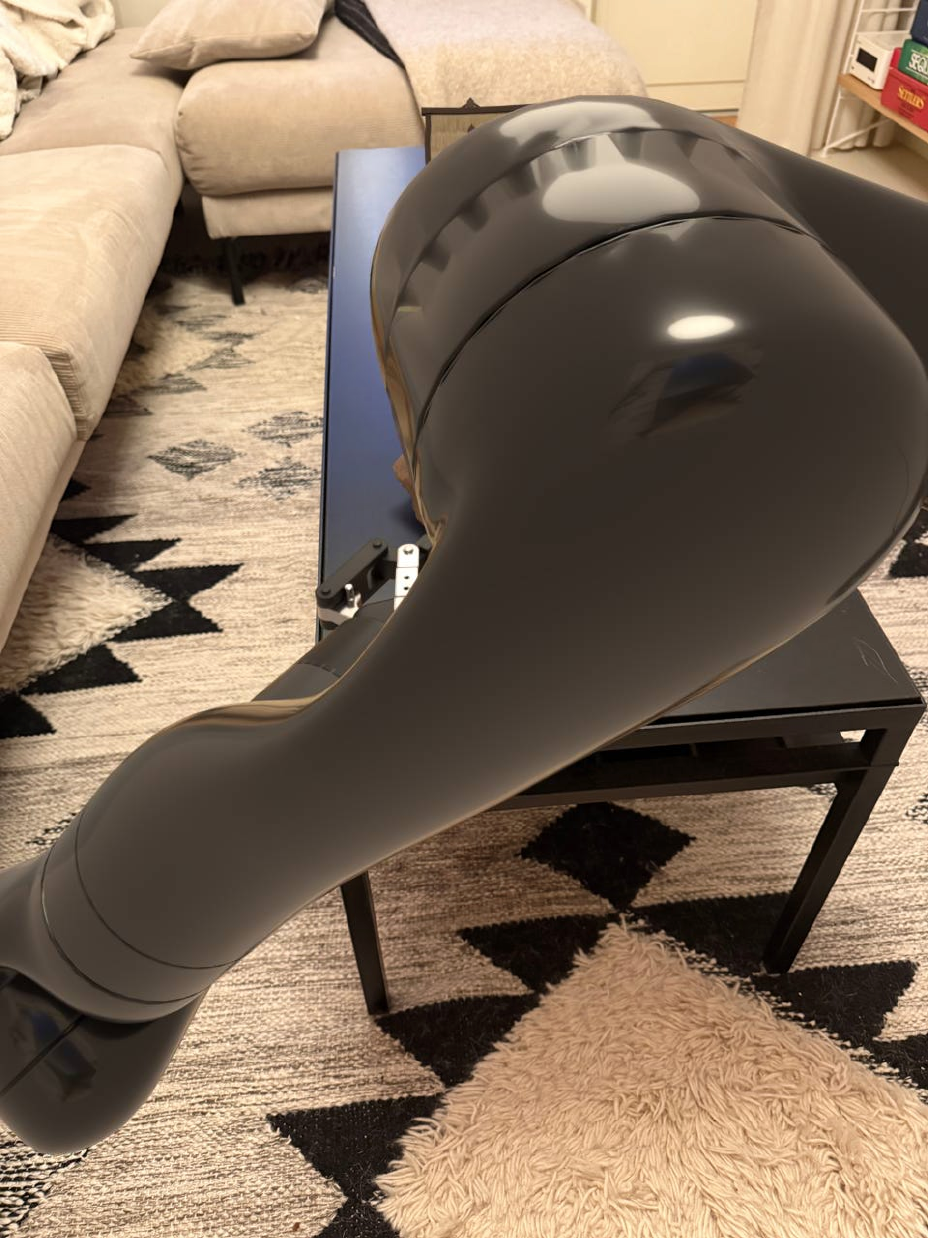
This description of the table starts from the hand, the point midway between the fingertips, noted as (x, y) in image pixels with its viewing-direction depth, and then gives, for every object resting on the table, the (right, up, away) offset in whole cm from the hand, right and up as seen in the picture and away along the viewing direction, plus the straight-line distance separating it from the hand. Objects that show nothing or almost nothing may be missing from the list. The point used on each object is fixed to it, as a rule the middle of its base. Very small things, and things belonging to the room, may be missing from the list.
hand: (519, 556), depth 54 cm
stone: (-3, +5, +31) cm, 31 cm away
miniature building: (+2, +59, +88) cm, 106 cm away
